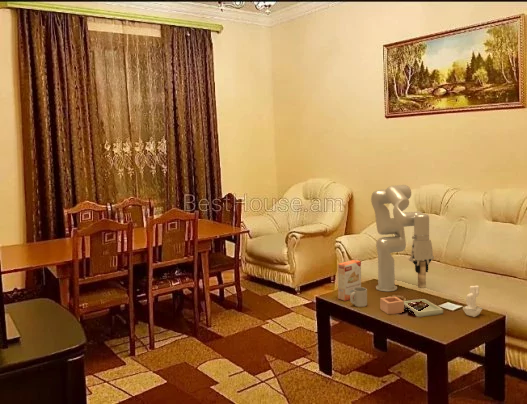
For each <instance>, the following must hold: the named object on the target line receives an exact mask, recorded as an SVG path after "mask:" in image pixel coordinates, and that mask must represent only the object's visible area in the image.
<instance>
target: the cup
mask: <svg viewBox="0 0 527 404" xmlns="http://www.w3.org/2000/svg"><path fill="white" fill-rule="evenodd" d="M353 296H354V298H353ZM349 301H350V303H351V304H352V305H354V306H355V307H359V308H360V307H361V308H365V307H367V305H368V289H367V288H366V287H363V286H361V287H357V288H354V292H352V293H351V295H350V299H349Z"/></svg>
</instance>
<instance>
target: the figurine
mask: <svg viewBox="0 0 527 404" xmlns="http://www.w3.org/2000/svg"><path fill="white" fill-rule="evenodd" d="M479 296H480V285H470V286H469V293H468V294H466V301H465V302H466V306H463V307H462V310H463V312H464V313H465V315H466V316H470V317H473V318H475V317H477V316H480V314H481V313H482V311H483V307H481V306H477V305H476V304H477V303H476V302H477V297H479Z"/></svg>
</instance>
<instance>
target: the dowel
mask: <svg viewBox="0 0 527 404" xmlns="http://www.w3.org/2000/svg"><path fill="white" fill-rule="evenodd" d="M419 266H420V273H417V288H418V289H426V288H427V272H426V261H424V260H420V261H419Z"/></svg>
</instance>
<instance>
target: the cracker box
mask: <svg viewBox="0 0 527 404" xmlns="http://www.w3.org/2000/svg"><path fill="white" fill-rule="evenodd" d="M357 287H362V261H360V260H357V259H352V260H351V259H350V260H348V261H345V262H340V263H337V299H338V300H341V301H344V302H345V301H350V295H351V293H352V292H354V288H357ZM353 299H354V296H353Z"/></svg>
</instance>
